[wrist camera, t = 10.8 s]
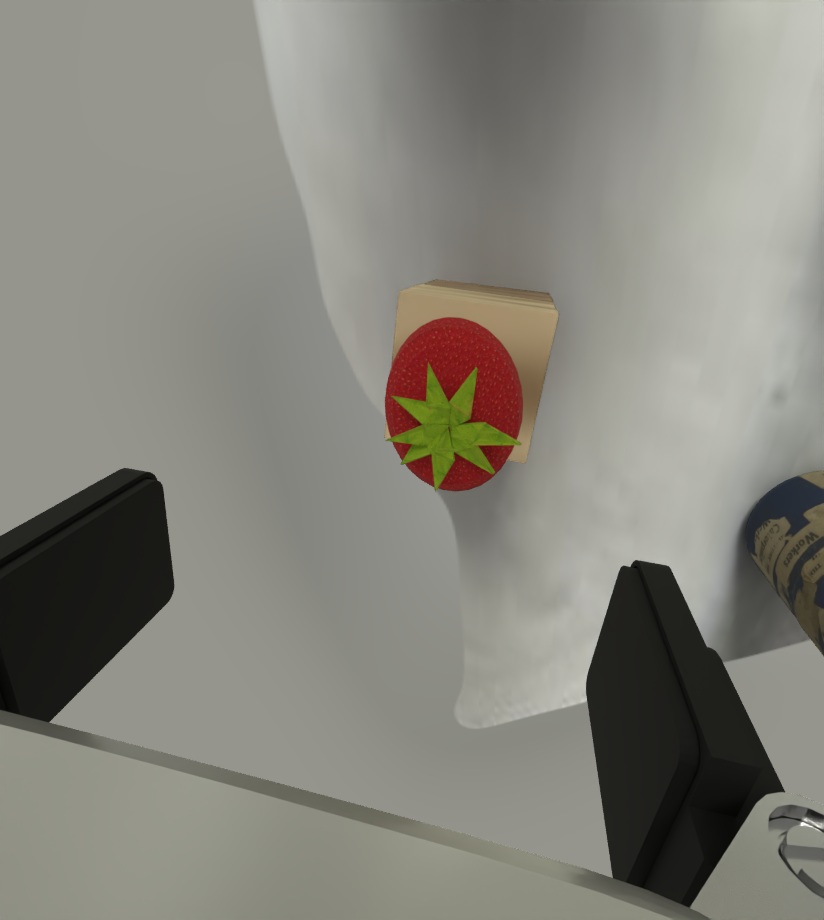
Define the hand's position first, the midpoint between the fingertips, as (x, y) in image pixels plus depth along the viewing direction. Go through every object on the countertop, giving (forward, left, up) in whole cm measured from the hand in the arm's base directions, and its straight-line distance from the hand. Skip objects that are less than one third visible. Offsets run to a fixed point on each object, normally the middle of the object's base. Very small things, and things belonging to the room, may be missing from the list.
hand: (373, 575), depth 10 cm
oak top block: (0, 0, -24) cm, 24 cm away
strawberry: (0, 0, -19) cm, 19 cm away
